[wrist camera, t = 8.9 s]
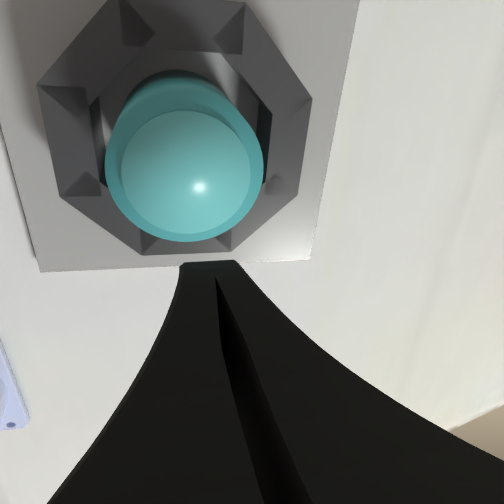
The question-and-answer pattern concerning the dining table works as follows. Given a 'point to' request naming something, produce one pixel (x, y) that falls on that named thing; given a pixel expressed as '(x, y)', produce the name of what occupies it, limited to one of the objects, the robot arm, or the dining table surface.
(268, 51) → the octagonal ring on plate
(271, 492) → the robot arm
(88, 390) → the dining table surface
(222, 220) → the cap
